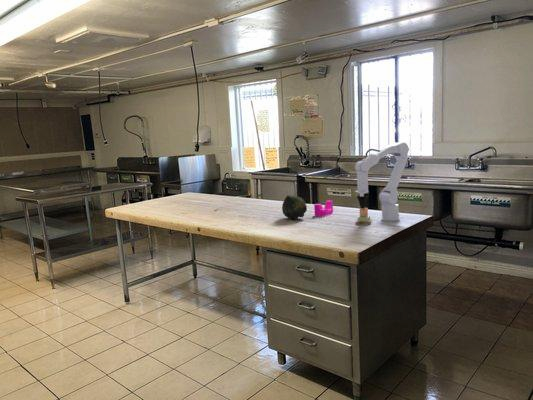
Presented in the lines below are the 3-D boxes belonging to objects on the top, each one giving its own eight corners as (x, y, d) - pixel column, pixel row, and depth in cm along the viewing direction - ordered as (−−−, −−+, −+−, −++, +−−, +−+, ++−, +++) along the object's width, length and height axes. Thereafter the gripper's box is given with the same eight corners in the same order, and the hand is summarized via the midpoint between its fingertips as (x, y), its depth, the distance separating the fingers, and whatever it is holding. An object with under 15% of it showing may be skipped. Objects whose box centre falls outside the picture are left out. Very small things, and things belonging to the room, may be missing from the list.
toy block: (323, 217, 256) (322, 205, 255) (314, 216, 260) (314, 204, 259) (336, 212, 267) (335, 201, 266) (328, 211, 271) (327, 200, 270)
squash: (296, 222, 246) (295, 197, 243) (277, 219, 256) (276, 195, 253) (311, 217, 256) (310, 193, 253) (293, 215, 266) (291, 192, 263)
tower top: (370, 219, 235) (370, 215, 235) (369, 221, 230) (368, 217, 229) (359, 218, 237) (359, 215, 237) (357, 221, 232) (357, 217, 231)
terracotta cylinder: (369, 215, 233) (369, 208, 233) (365, 217, 230) (365, 209, 229) (362, 215, 236) (361, 207, 235) (358, 216, 233) (357, 208, 232)
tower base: (371, 222, 237) (371, 218, 236) (370, 225, 229) (370, 221, 229) (357, 222, 239) (357, 218, 239) (355, 225, 232) (355, 221, 231)
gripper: (356, 181, 238) (357, 204, 241) (353, 185, 225) (354, 209, 227) (369, 180, 236) (369, 204, 238) (367, 184, 223) (367, 209, 225)
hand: (363, 207), depth 233 cm, fingers open, 7 cm apart
